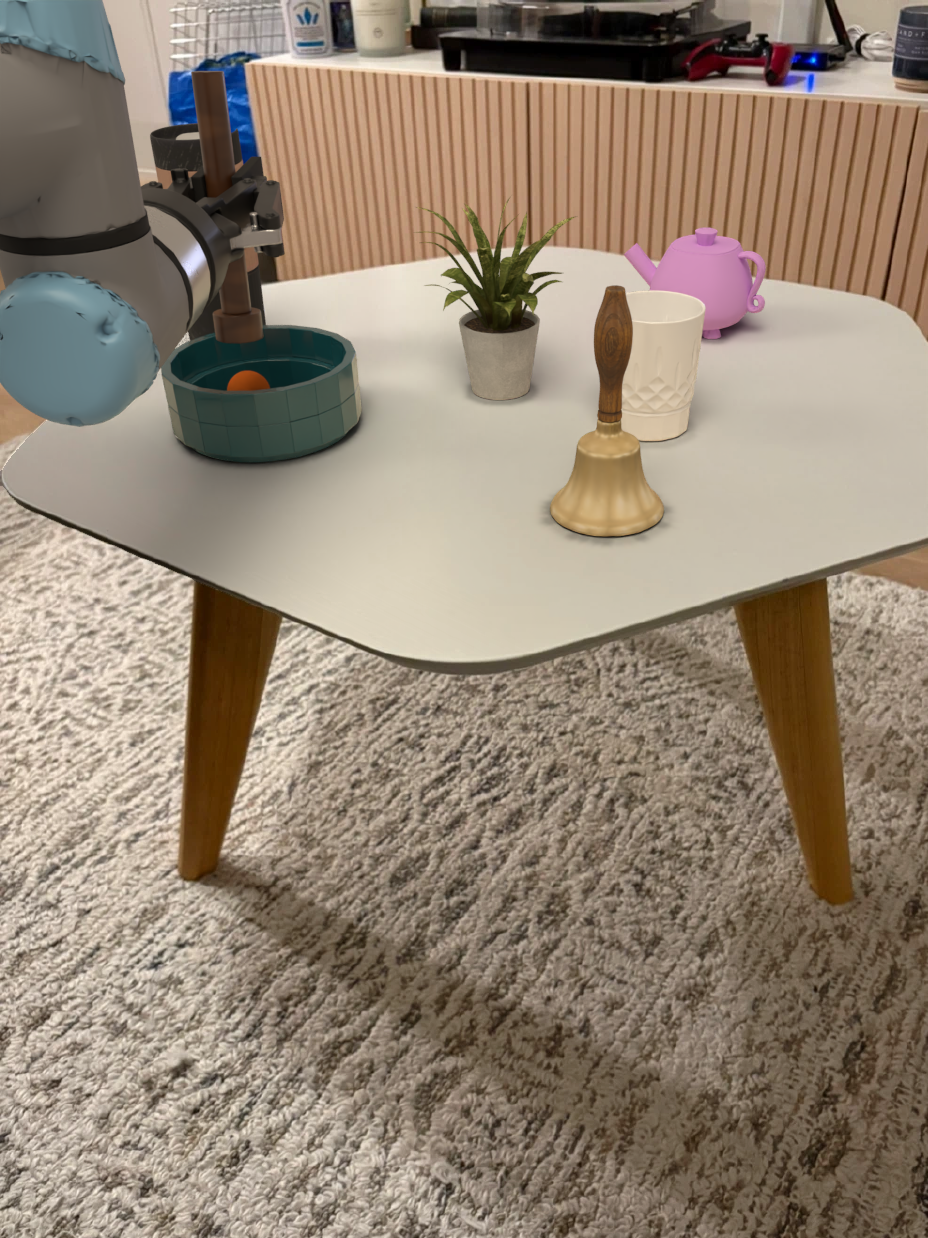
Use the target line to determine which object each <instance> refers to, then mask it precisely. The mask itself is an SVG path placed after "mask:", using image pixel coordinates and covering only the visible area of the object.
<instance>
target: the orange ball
mask: <svg viewBox="0 0 928 1238" xmlns="http://www.w3.org/2000/svg"><path fill="white" fill-rule="evenodd" d="M262 389H270V386H269V384H268V382H267V380H266V379H265V378H264V377H263V376H262V375H260V374H259V373H257V372H254V371H241V372H239V373H237V374H235V375H234V376H233V377H232V378H231V380H230V381H229V384H228V387H227V391H254V390H262Z"/></svg>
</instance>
